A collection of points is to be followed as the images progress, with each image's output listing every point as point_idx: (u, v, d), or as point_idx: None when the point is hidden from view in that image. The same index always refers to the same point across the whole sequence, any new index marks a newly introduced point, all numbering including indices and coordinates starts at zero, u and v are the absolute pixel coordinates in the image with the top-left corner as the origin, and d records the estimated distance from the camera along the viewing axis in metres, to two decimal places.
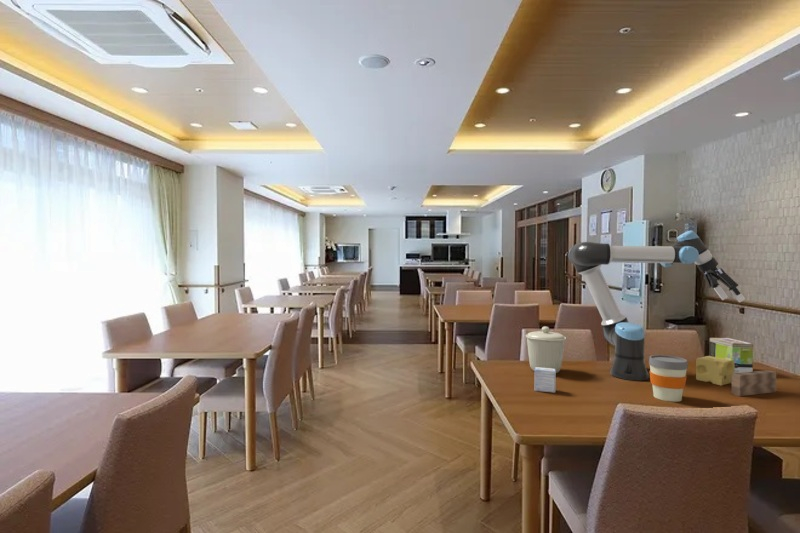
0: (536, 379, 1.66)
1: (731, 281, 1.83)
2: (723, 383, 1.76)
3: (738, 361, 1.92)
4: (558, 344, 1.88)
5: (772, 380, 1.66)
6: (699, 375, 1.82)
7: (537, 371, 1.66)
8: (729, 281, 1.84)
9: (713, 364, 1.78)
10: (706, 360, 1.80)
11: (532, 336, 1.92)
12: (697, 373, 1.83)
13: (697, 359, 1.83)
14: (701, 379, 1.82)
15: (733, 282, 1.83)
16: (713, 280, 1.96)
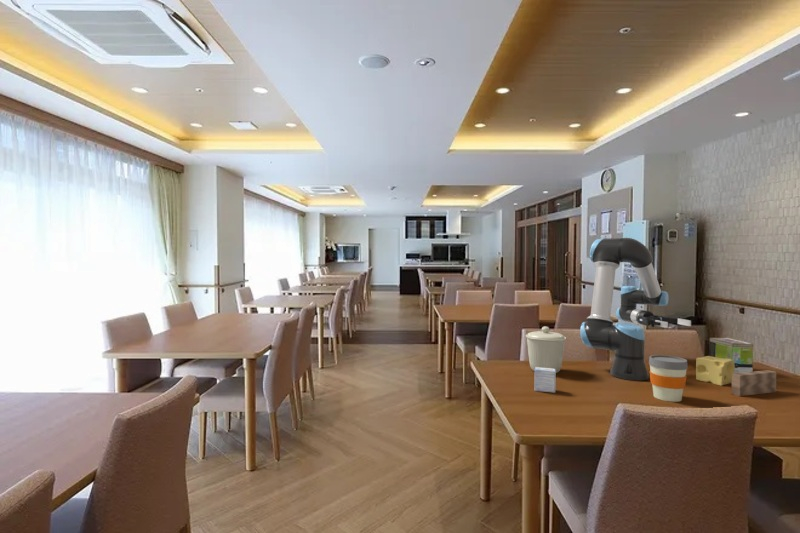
0: (536, 379, 1.66)
1: None
2: (723, 383, 1.76)
3: (738, 361, 1.92)
4: (558, 344, 1.88)
5: (772, 380, 1.66)
6: (699, 375, 1.82)
7: (537, 371, 1.66)
8: None
9: (713, 364, 1.78)
10: (706, 360, 1.80)
11: (532, 336, 1.92)
12: (697, 373, 1.83)
13: (697, 359, 1.83)
14: (701, 379, 1.82)
15: None
16: None
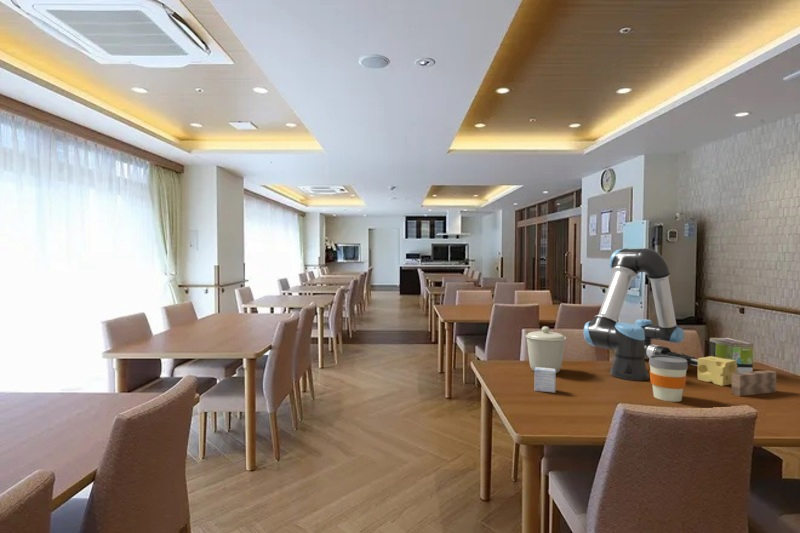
0: (536, 379, 1.66)
1: None
2: (724, 383, 1.75)
3: (738, 361, 1.92)
4: (558, 344, 1.88)
5: (772, 380, 1.66)
6: (701, 375, 1.82)
7: (537, 371, 1.66)
8: None
9: (714, 364, 1.77)
10: (708, 360, 1.79)
11: (532, 336, 1.92)
12: (699, 373, 1.83)
13: (699, 359, 1.82)
14: (703, 379, 1.81)
15: None
16: None
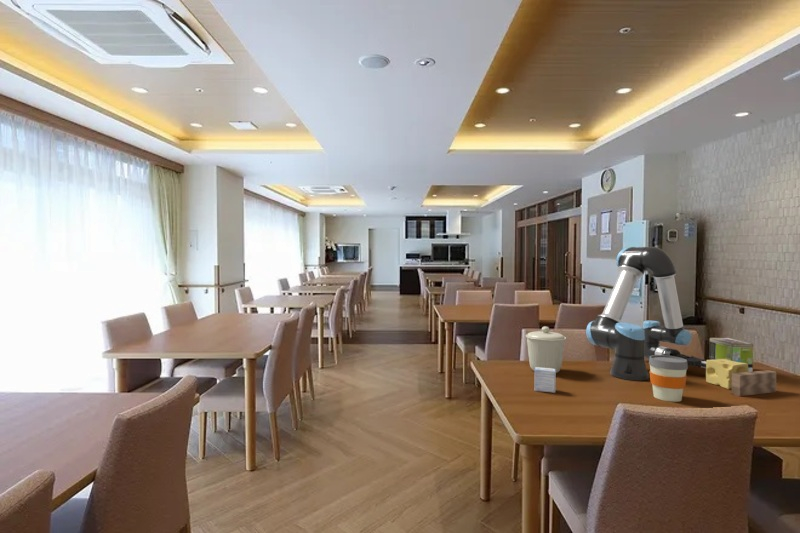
0: (536, 379, 1.66)
1: None
2: (731, 386, 1.71)
3: (738, 361, 1.92)
4: (558, 344, 1.88)
5: (772, 380, 1.66)
6: (709, 377, 1.78)
7: (537, 371, 1.66)
8: None
9: (721, 367, 1.73)
10: (715, 362, 1.76)
11: (532, 336, 1.92)
12: (707, 375, 1.79)
13: (707, 361, 1.79)
14: (711, 381, 1.78)
15: None
16: None
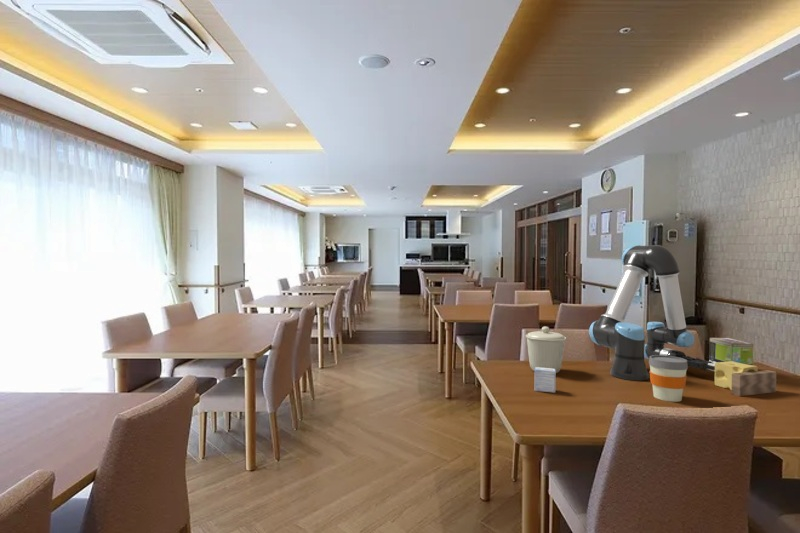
0: (536, 379, 1.66)
1: None
2: None
3: (738, 361, 1.92)
4: (558, 344, 1.88)
5: (772, 380, 1.66)
6: (717, 380, 1.74)
7: (537, 371, 1.66)
8: None
9: (731, 370, 1.69)
10: (724, 365, 1.71)
11: (532, 336, 1.92)
12: (716, 378, 1.75)
13: (716, 364, 1.75)
14: (720, 385, 1.73)
15: None
16: None
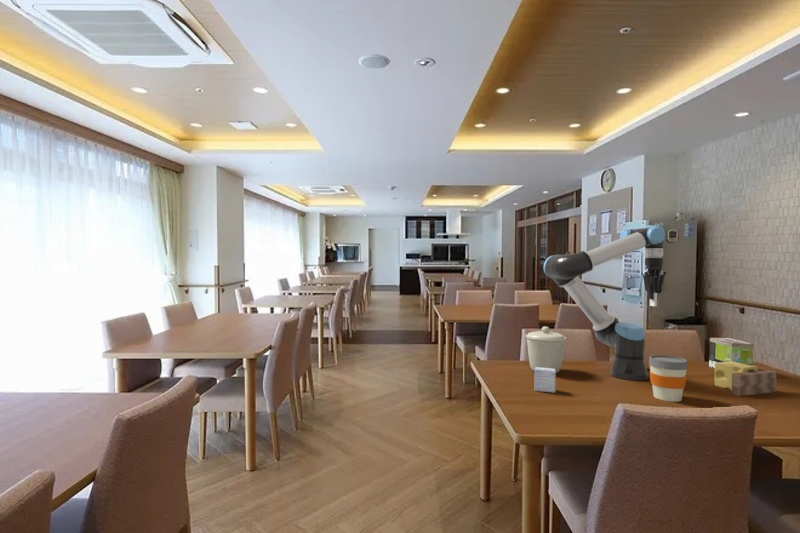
0: (536, 379, 1.66)
1: (647, 285, 2.01)
2: None
3: (738, 361, 1.92)
4: (558, 344, 1.88)
5: (772, 380, 1.66)
6: (717, 381, 1.74)
7: (537, 371, 1.66)
8: (646, 285, 2.01)
9: (731, 370, 1.69)
10: (724, 365, 1.71)
11: (532, 336, 1.92)
12: (715, 378, 1.75)
13: (716, 364, 1.75)
14: (720, 385, 1.73)
15: (648, 287, 2.00)
16: None
